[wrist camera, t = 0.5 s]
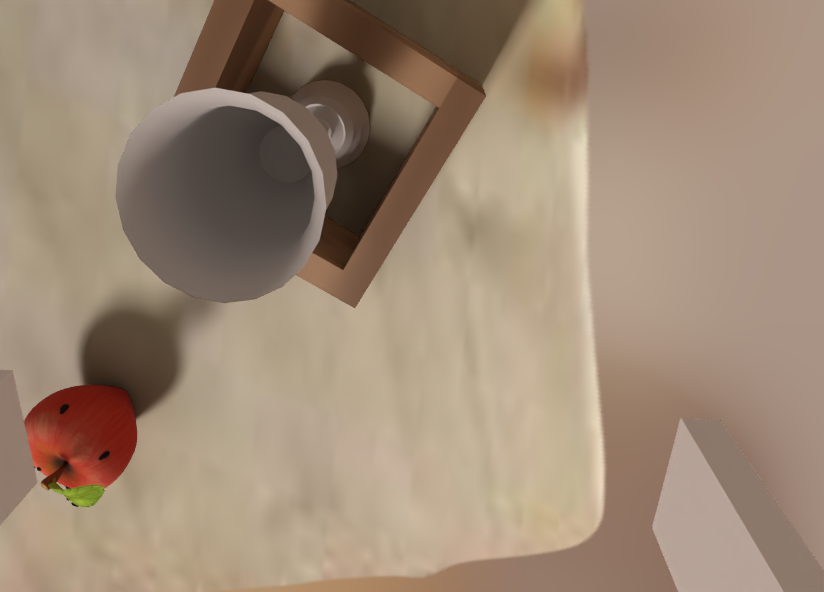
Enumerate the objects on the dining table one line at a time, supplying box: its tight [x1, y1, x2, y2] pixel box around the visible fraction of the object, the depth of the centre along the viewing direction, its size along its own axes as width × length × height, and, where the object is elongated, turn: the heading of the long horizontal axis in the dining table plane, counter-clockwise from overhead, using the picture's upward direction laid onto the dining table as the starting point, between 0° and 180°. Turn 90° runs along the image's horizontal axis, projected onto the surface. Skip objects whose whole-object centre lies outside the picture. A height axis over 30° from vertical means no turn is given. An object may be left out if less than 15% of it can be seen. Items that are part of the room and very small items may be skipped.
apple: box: [24, 385, 137, 507], centre depth 41 cm, size 8×7×10 cm
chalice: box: [116, 80, 370, 303], centre depth 29 cm, size 7×7×18 cm
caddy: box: [174, 0, 486, 308], centre depth 35 cm, size 13×13×6 cm
